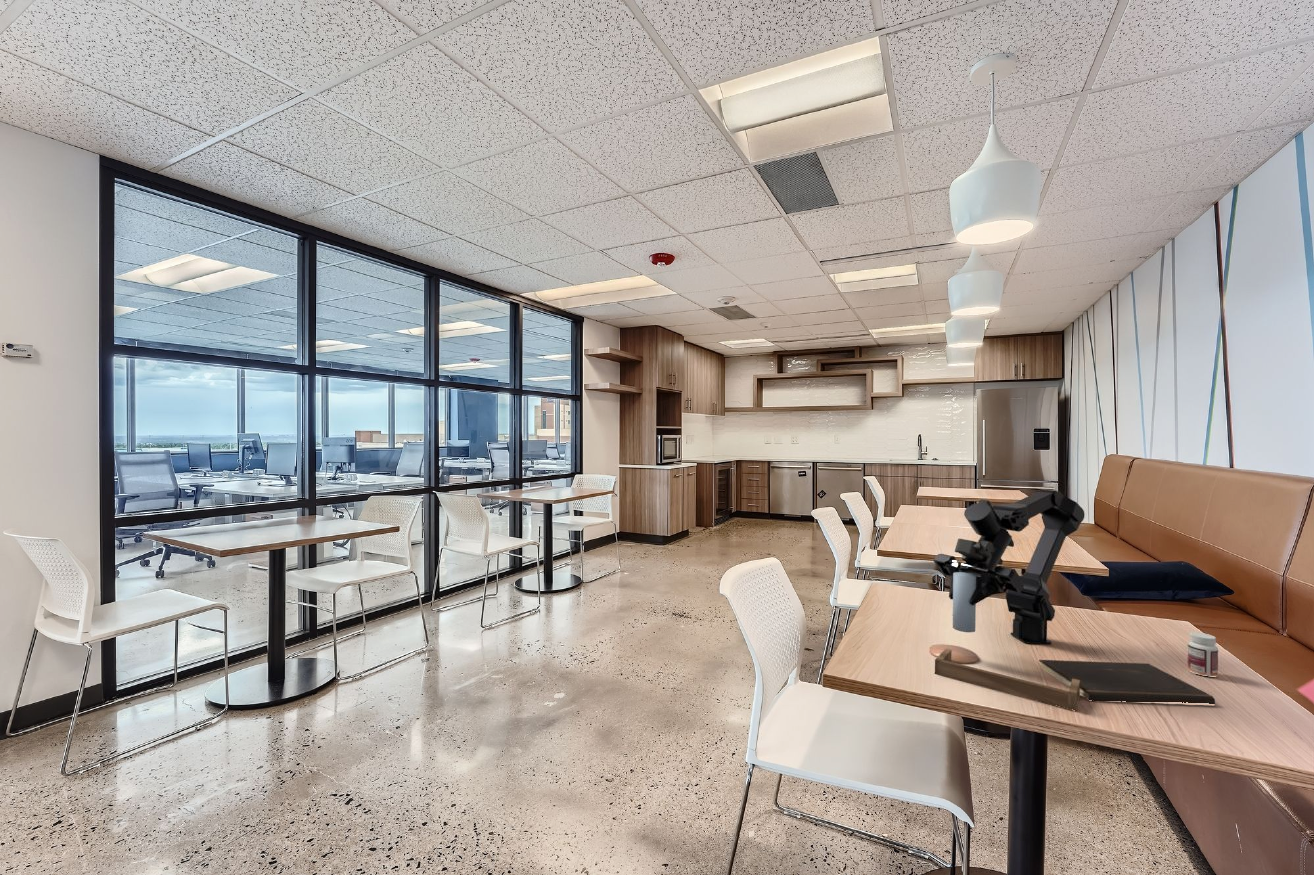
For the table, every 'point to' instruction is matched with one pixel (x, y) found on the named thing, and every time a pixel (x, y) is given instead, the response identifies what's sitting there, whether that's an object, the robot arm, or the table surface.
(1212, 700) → the hardcover book
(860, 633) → the table surface
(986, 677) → the walnut rack
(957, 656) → the terracotta coaster
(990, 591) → the robot arm
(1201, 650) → the pill bottle
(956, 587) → the blue canister
